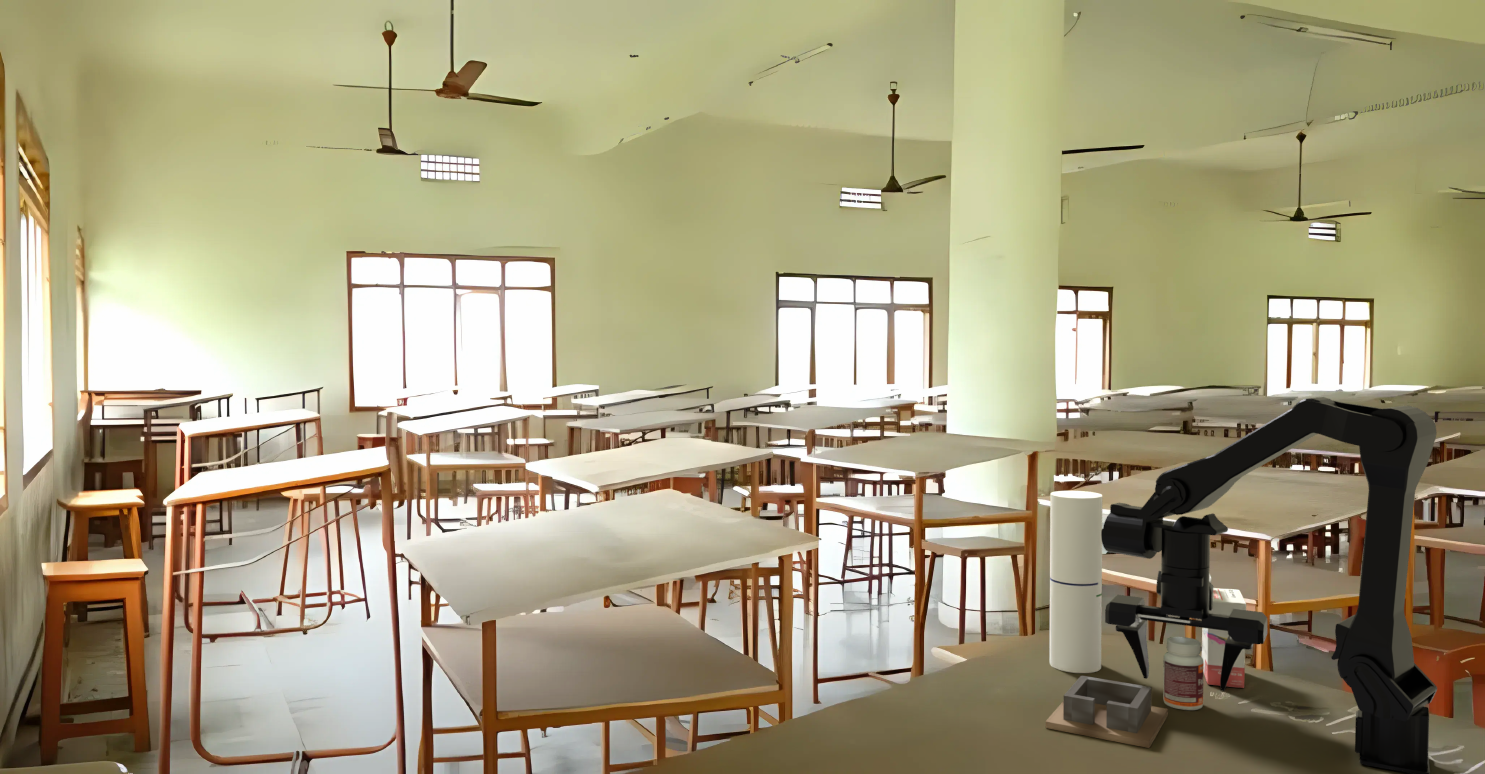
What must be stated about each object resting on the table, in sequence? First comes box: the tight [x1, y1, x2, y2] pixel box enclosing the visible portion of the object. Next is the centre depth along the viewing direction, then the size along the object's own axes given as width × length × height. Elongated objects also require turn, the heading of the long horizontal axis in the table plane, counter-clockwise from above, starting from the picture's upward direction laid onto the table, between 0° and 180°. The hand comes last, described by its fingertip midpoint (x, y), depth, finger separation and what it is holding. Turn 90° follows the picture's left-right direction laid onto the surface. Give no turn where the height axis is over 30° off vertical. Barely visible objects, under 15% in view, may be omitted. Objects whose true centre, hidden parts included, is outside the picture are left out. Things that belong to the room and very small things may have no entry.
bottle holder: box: [1045, 675, 1169, 749], centre depth 126 cm, size 12×12×4 cm
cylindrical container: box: [1049, 490, 1103, 674], centre depth 148 cm, size 7×7×25 cm
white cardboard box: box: [1201, 572, 1247, 689], centre depth 142 cm, size 9×5×15 cm, turn 161°
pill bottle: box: [1162, 636, 1204, 711], centre depth 132 cm, size 5×5×8 cm
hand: (1183, 683), depth 132 cm, fingers open, 9 cm apart
